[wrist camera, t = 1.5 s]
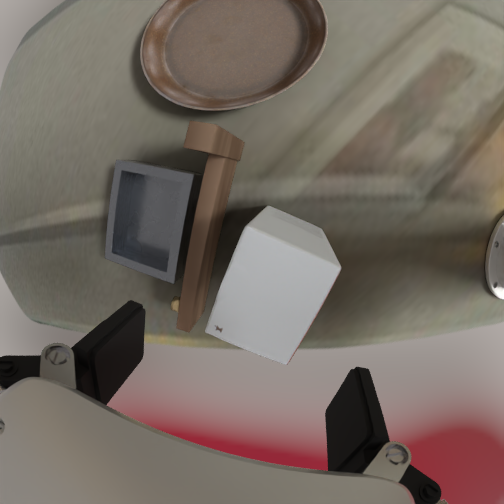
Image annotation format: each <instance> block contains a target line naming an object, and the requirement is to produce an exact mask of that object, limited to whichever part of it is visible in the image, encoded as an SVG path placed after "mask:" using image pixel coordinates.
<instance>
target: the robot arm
mask: <svg viewBox="0 0 504 504" xmlns="http://www.w3.org/2000/svg"><path fill="white" fill-rule="evenodd" d="M485 273H486V280H487V284H488V286H489V288H490V291H491V292H492V293H493V294H494V295H495V296H497V297H498V298H499V299H502V300H504V215H503V216H502V217H501V219H500V220H499V221H498V223H497V225H496V226H495V228H494V230H493V233H492V235H491V238H490V241H489V244H488V248H487V253H486V261H485ZM144 328H145V309H143V306H142V304H139V303H137V302H134V301H132V300H130V301H128V302H127V303H126V304H125V305H123V306H122V307H121V308H120V309H118V310H117V311H116V312H115V313H114V314H112V315H111V316H110V317H109V318H107V319H106V320H104V321H103V322H101V323H100V324H99V325H98V326H97V327H95V328H94V329H93V330H92V331H91V332H89V333H88V334H87V335H86V336H85V337H84V338H82V339H81V340H80V341H79V342H78V343H76V344H75V345H74V346H73V347H72V348H70V347H69V346H67V345H65V344H61V343H53V344H50V345H48V346H46V347H45V348H44V349H43V350H42V353H41V355H40V356H2V357H0V504H448V503H447V502H446V501H445V500H442V501H441V500H440V497H441V489H440V487H439V485H438V484H437V483H436V482H435V481H433V480H432V479H430V478H429V477H427V476H426V475H424V474H423V473H422V472H420V471H419V470H417V469H416V468H414V467H413V466H412V465H410V462H411V453H410V451H409V449H408V448H407V447H406V446H405V445H404V444H402V443H400V442H396V441H394V442H393V441H392V442H390V441H389V436H388V433H387V429H386V425H385V421H384V417H383V414H382V410H381V407H380V403H379V401H378V397H377V394H376V391H375V387H374V384H373V381H372V377H371V374H370V371H369V369H366V368H361V367H356V368H355V369H351V370H350V372H349V373H348V375H347V377H346V378H345V380H344V382H343V384H342V385H341V387H340V389H339V390H338V392H337V393H336V395H335V397H334V398H333V400H332V401H331V403H330V404H329V406H328V408H327V409H326V413H325V417H326V433H327V453H328V471H323V470H313V469H306V468H297V467H290V466H284V465H278V464H273V463H267V462H262V461H258V460H253V459H248V458H244V457H240V456H236V455H232V454H228V453H224V452H221V451H217V450H214V449H211V448H208V447H204V446H201V445H198V444H195V443H192V442H189V441H186V440H184V439H181V438H178V437H175V436H173V435H170V434H167V433H165V432H163V431H160V430H158V429H155V428H153V427H150V426H148V425H146V424H144V423H141V422H139V421H137V420H135V419H133V418H131V417H128V416H126V415H124V414H122V413H120V412H118V411H116V410H114V409H112V408H110V407H108V406H106V405H107V403H108V402H109V401H110V399H111V398H112V397H113V396H114V394H115V393H116V392H117V391H118V389H119V388H120V387H121V385H122V384H123V383H124V382H125V380H126V379H127V378H128V377H129V375H130V374H131V373H132V372H133V370H134V369H135V368H136V367H137V365H138V364H139V363H140V362H141V360H142V358H143V353H144Z"/></svg>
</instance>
